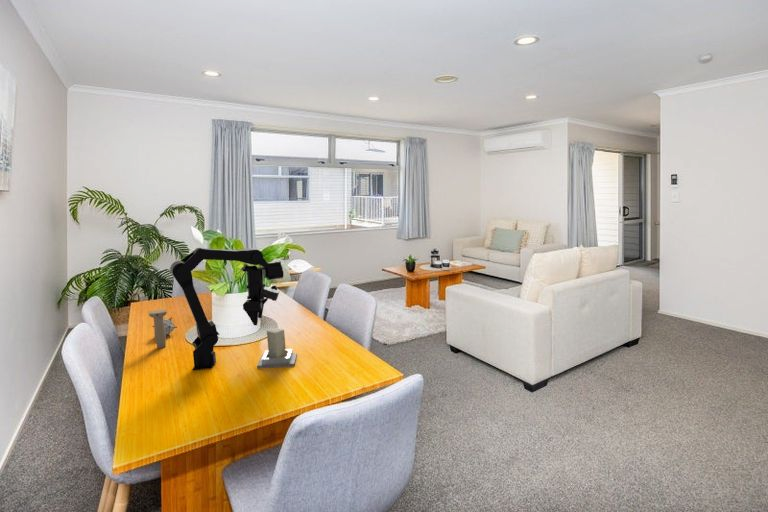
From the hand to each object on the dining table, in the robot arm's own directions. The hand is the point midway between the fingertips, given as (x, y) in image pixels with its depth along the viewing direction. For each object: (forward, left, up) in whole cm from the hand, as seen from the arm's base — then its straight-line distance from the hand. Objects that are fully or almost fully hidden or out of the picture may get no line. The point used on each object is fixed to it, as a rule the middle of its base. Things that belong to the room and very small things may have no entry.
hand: (258, 321), depth 162 cm
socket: (+8, -9, -13) cm, 18 cm away
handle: (-42, +14, -13) cm, 46 cm away
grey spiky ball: (-46, +29, -13) cm, 56 cm away
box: (+8, -9, -12) cm, 17 cm away
